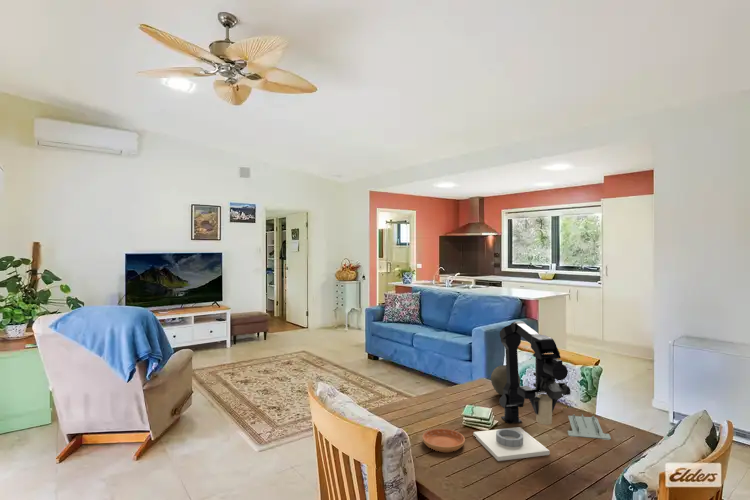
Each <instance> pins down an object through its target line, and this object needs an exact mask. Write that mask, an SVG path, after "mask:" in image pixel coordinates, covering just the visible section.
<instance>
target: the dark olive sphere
mask: <svg viewBox="0 0 750 500" xmlns="http://www.w3.org/2000/svg"><path fill="white" fill-rule="evenodd" d="M490 382H491V384H492V387H493V389H494V391H495V392H496V393H498V394H499V395H501V396H502V395H503V388H504V387H505V385H506V383H507V374H506V364H505V365H504V364H503V365H502V364H501V365H498V366H497V367H495V368H494V369H493V371H492V372H491V375H490ZM519 384H520V385H521V377H520V375H519Z"/></svg>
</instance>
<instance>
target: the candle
mask: <svg viewBox="0 0 750 500" xmlns="http://www.w3.org/2000/svg"><path fill="white" fill-rule="evenodd" d="M538 398H540V400H539V401H538V415H537V414H536V413H535V420H536V422H537V423H539V424H540V425H552V423H553V412H552V399H551V398H549V397H548V395H547V394H546V393H539V394H538Z"/></svg>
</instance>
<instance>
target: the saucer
mask: <svg viewBox="0 0 750 500" xmlns="http://www.w3.org/2000/svg"><path fill="white" fill-rule="evenodd" d="M421 438H422V442H423V444H425V445H426V446H427V447H428V448H429V449H430V448H431V449H430V450H432V449H433V450H432V451H434V450H435V452H438V451H439V452H438V453H454V452H456V451H458V450H460V449H461V448H462V447H463V446H464V445H465V443H466V442H465V441H466V438H465V436H464V435H463V434H462V433H460V432H459V431H456V430H453V429H449V428H433V429H429V430H427V431H424V432H423V434H422V436H421ZM453 451H454V452H453Z"/></svg>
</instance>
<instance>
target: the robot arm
mask: <svg viewBox="0 0 750 500" xmlns="http://www.w3.org/2000/svg"><path fill="white" fill-rule="evenodd" d="M499 338H500V342H501V344H502V345H503V347H504V349H505V365H506V374H507V383H506V385H505V387H504V388H503V395H501V397H499V398H498V402H499V405H500V406H501V407H502V408H503V409H504V410H503V411H504V416H503V415H502V416H501V417H500V418H501V419H502V420H503V421H504V422H506V423H507V424H508V425H509V424H517V423H522V422H523V420H522V419H521V418H520V412H519V411H520V410H519V409H520V408H523V407H524V404H525V400H529V402H530V404H531V406H532V410H533V411H534V413H535V415H536V414H537V415H538V401H539V400H540V398H538V395H539V394H547V395H548V397H549V398H551V399H552V413H553V412H554V409H555V406H556V404H557V403H558V401H559V399H561V398H563V397H564V396H568V395H571V388H570V386H569V385H567V384H566V383H565V382H556V380H557V381H563V380H565V379H566V378H567V377H568V373H569V370H568V368H567V366H566V365H565V364H563V360H562V359H561V358H562V357H561V353H560V350H559V349H558V347H557V344H556V341H555V339H553V338H552V337H551V336H547V335H545V334H541V333H538V332H537V331H536V330H535V329H533V328H531V326H529V325H527V323H526V322H525V321H521V320H520V321H513V322H511V323H510V324H508V325H506V326H504V327H503V328H501V330H500V331H499ZM522 339H524V340H526V342H528V343H530V349H532V350H533V352H534V353H532V357H533V358H535V371H534V372H533V374H532V375H533V376H534V377H535V382H534V383H533V384H532V385H533V387H534V388H532V387H530V386H529V385H524V386H523V385H521V383H520V384H519V376H520V374H519V360H518V359H519V357H518V348H519V347H520V345H521V343H522Z"/></svg>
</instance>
